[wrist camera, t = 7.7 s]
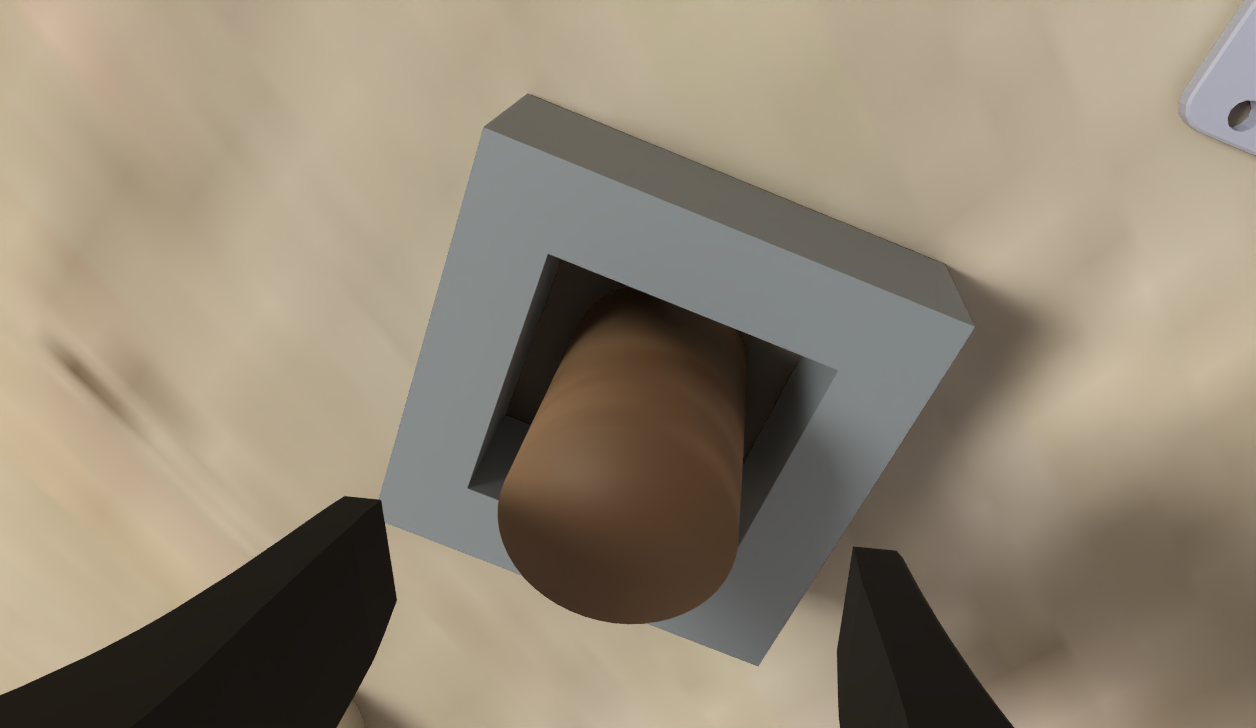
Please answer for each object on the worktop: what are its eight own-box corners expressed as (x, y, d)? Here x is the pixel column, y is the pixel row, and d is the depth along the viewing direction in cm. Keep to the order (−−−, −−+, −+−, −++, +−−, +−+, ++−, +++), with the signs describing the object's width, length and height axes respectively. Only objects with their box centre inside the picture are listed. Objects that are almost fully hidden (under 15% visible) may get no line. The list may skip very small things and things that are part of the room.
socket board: (945, 264, 18) (975, 327, 15) (760, 575, 22) (758, 666, 19) (527, 93, 17) (483, 126, 15) (422, 443, 22) (373, 518, 19)
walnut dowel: (784, 346, 19) (788, 513, 14) (684, 470, 21) (653, 659, 16) (628, 247, 19) (571, 381, 13) (539, 382, 20) (457, 547, 15)
